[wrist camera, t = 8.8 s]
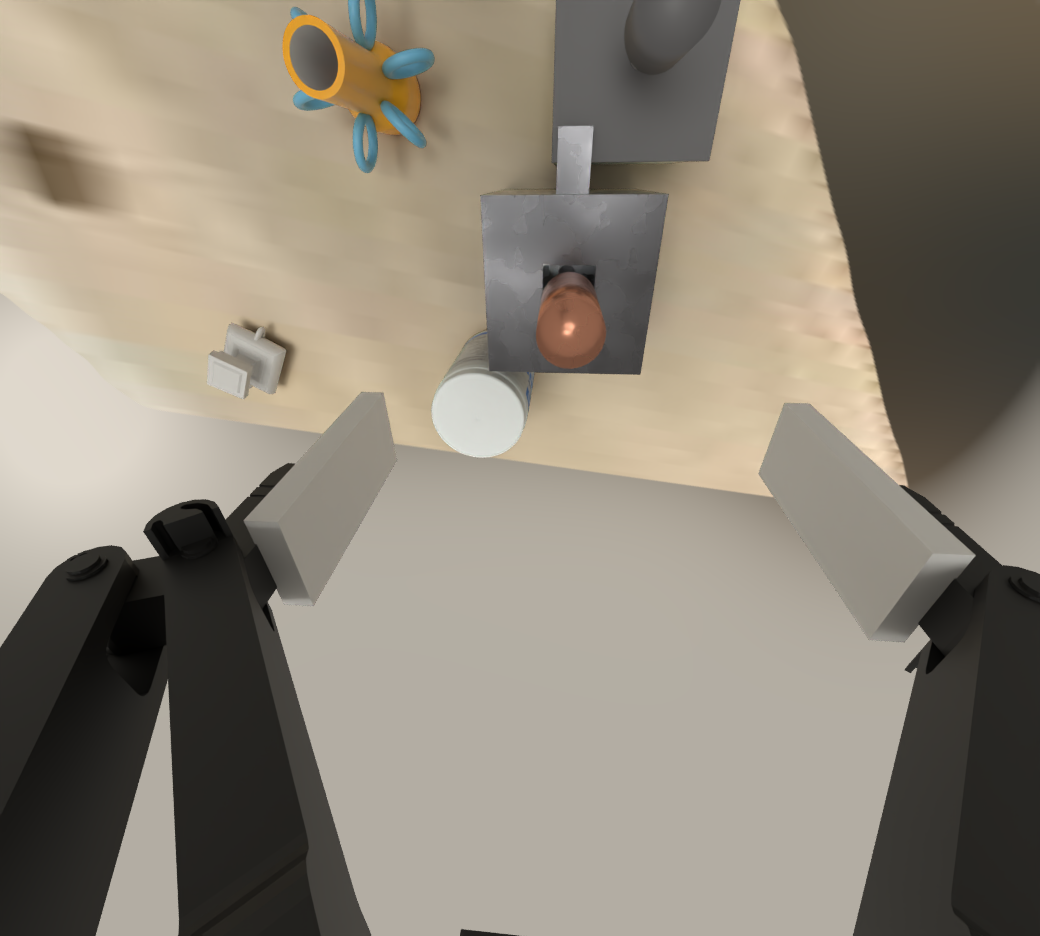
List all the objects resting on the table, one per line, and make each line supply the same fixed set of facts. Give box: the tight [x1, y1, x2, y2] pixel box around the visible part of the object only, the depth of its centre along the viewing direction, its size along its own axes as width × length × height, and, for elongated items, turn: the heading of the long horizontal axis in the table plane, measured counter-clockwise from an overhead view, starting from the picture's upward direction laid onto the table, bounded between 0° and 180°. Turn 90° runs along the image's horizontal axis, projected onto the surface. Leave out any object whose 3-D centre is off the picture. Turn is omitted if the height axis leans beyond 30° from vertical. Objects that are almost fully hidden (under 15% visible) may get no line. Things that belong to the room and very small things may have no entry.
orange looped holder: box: [283, 0, 435, 173], centre depth 34 cm, size 12×10×15 cm
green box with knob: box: [552, 0, 740, 165], centre depth 29 cm, size 11×11×24 cm
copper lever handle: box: [536, 265, 606, 369], centre depth 33 cm, size 4×4×19 cm
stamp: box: [207, 323, 286, 399], centre depth 52 cm, size 9×7×8 cm
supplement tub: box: [431, 330, 535, 458], centre depth 48 cm, size 10×10×15 cm
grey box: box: [480, 126, 669, 375], centre depth 39 cm, size 17×13×16 cm
